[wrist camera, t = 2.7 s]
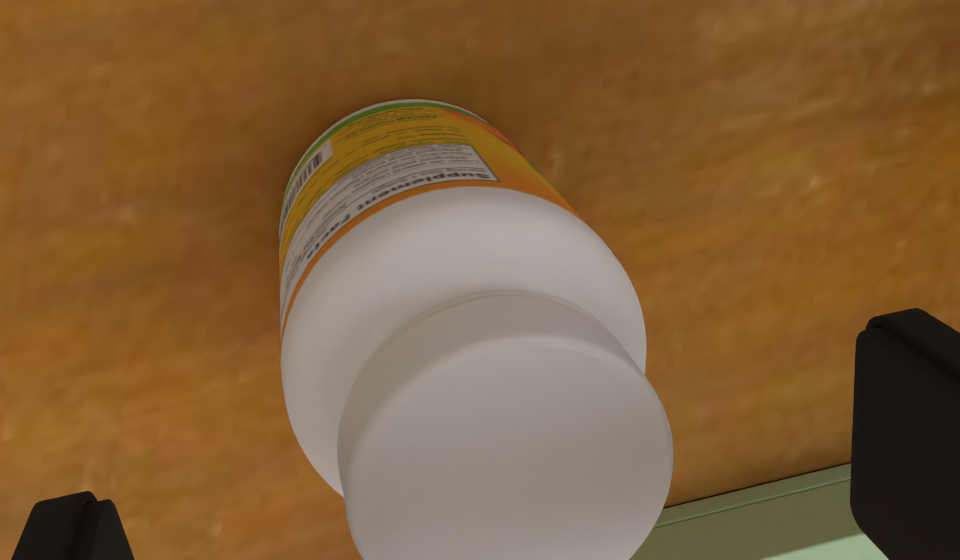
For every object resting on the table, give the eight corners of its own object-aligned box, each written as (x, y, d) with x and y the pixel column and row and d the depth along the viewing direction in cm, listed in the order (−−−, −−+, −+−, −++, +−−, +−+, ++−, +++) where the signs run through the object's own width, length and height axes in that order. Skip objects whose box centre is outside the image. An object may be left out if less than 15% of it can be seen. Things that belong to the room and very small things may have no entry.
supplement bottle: (554, 292, 21) (757, 585, 12) (325, 364, 20) (363, 725, 12) (500, 61, 18) (703, 215, 10) (241, 137, 18) (208, 370, 9)
